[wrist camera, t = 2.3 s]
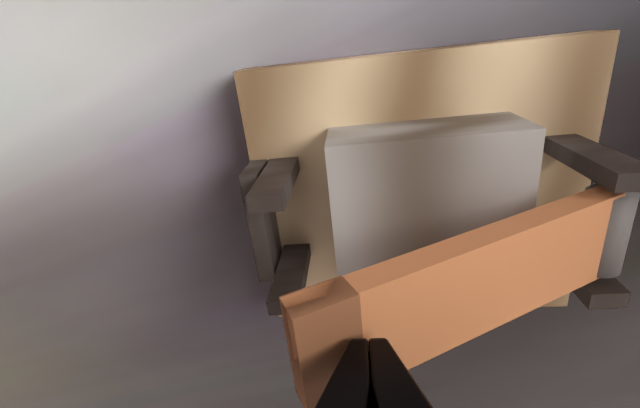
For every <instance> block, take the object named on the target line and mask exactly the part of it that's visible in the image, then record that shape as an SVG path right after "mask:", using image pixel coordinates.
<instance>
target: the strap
mask: <svg viewBox="0 0 640 408" xmlns="http://www.w3.org/2000/svg"><path fill="white" fill-rule="evenodd" d="M639 198H640V193H639V192H629V193H613V192H611V191H609V190H608V189H606V188H604V187H602V186H601V185H599V184H594V185H590V186H587V187H586V188H585V191H582V192H579V193H576V194H573V195H570V196H568V197H565V198H562V199H559V200H556V201H553V202H551V203H548V204H545V205H542V206H539V207H536V208H534V209H531V210H528V211H525V212H522V213H519V214H517V215H514V216H511V217H508V218H505V219H502V220H500V221H497V222H494V223H491V224H488V225H485V226H483V227H480V228H477V229H474V230H471V231H468V232H465V233H463V234H460V235H457V236H454V237H451V238H448V239H446V240H443V241H440V242H437V243H434V244H431V245H429V246H426V247H423V248H420V249H417V250H414V251H412V252H409V253H406V254H403V255H400V256H397V257H395V258H392V259H389V260H386V261H383V262H380V263H378V264H375V265H372V266H369V267H366V268H363V269H361V270H358V271H355V272H352V273H349V274H346V275H344V276H342V275H340V276H337V277H334V278H331V279H328V280H325V281H323V282H320V283H317V284H314V285H311V286H308V287H306V288H303V289H300V290H297V291H294V292H291V293H288V294H286V295H283V296H280V297H279V300H280V305H281V311H282V316H283V322H284V327H285V333H286V338H287V344H288V349H289V355H290V360H291V366H292V371H293V377H294V382H295V388H296V392H297V394H298V396H299V398H300V401H301V403H302V405H303V407H304V408H315V406H316V404H317V402H318V400H319V398H320V397H321V395H322V393H323V391H324V389H325V387H326V385H327V383H328V381H329V379H330V377H331V375H332V373H333V371H334V369H335V367H336V366H337V364H338V362H339V360H340V358H341V356H342V354H343V352H344V350H345V348H346V346H347V344H348V342H349V341H350V340H351V339H356V338H366V339H367V340H368V344H369V339H370V338H386V339H387V340H388V341H389V342H390V344H391V345H392V347H393V348H394V350H395V351H396V353H397V355H398V356H399V358H400V359H401V361H402V362H403V364H404V365H405V367H406V368H407V370H409V369H411V368H413V367H415V366H417V365H419V364H421V363H423V362H425V361H427V360H430V359H432V358H434V357H436V356H438V355H440V354H442V353H444V352H446V351H448V350H450V349H453V348H455V347H457V346H459V345H461V344H463V343H465V342H467V341H469V340H471V339H473V338H476V337H478V336H480V335H482V334H484V333H486V332H488V331H490V330H492V329H494V328H496V327H499V326H501V325H503V324H505V323H507V322H509V321H511V320H513V319H515V318H517V317H519V316H522V315H524V314H526V313H528V312H530V311H532V310H534V309H536V308H538V307H540V306H542V305H545V304H547V303H549V302H551V301H553V300H555V299H557V298H559V297H561V296H563V295H565V294H568V293H570V292H572V291H574V290H576V289H578V288H580V287H582V286H584V285H586V284H588V283H591V282H593V281H595V280H597V279H599V278H614V277H617V276H619V275H620V273H621V270H622V266H623V262H624V258H625V254H626V250H627V246H628V242H629V238H630V234H631V230H632V226H633V222H634V218H635V214H636V210H637V206H638V202H639ZM369 358H370V357H369Z"/></svg>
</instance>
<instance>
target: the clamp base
mask: <svg viewBox="0 0 640 408" xmlns="http://www.w3.org/2000/svg"><path fill="white" fill-rule="evenodd" d="M619 34H620V30H596V31H581V32H571V33H562V34H553V35H544V36H535V37H526V38H517V39H508V40H499V41H490V42H480V43H471V44H462V45H453V46H444V47H435V48H426V49H417V50H408V51H398V52H389V53H380V54H371V55H362V56H353V57H344V58H335V59H326V60H317V61H307V62H298V63H289V64H280V65H271V66H262V67H253V68H245V69H242V70H238V71H235V72H233V74H234V80H235V85H236V90H237V96H238V101H239V106H240V112H241V117H242V122H243V128H244V133H245V138H246V144H247V149H248V155H249V160H250V162H249V163H248V165H247V166H246V167H245V168H244V170H243V171H242V172H241V173H240V174H239V176H238V178H239V183H240V188H241V193H242V198H243V203H244V207H245V212H246V217H247V222H248V227H249V232H250V237H251V242H252V247H253V252H254V257H255V262H256V267H257V272H258V276H259V281H260V282H261V281H272V286H271V289H270V292H269V295H268V299H267V302H266V303H267V308H268V313H269V315H279V317H283V316H282V311H281V305H280V300H279V297H280V296H283V295H286V294H288V293H291V292H294V291H297V290H300V289H303V288H306V287H308V286H311V285H314V284H317V283H320V282H323V281H325V280H328V279H331V278H334V277H337V276H340V275H342V276H344V275H346V274H349V273H352V272H355V271H358V270H361V269H363V268H366V267H369V266H372V265H375V264H378V263H380V262H383V261H386V260H389V259H392V258H395V257H397V256H400V255H403V254H406V253H409V252H412V251H414V250H417V249H420V248H423V247H426V246H429V245H431V244H434V243H437V242H440V241H443V240H446V239H448V238H451V237H454V236H457V235H460V234H463V233H465V232H468V231H471V230H474V229H477V228H480V227H483V226H485V225H488V224H491V223H494V222H497V221H500V220H502V219H505V218H508V217H511V216H514V215H517V214H519V213H522V212H525V211H528V210H531V209H534V208H536V207H539V206H542V205H545V204H548V203H551V202H553V201H556V200H559V199H562V198H565V197H568V196H570V195H573V194H576V193H579V192H582V191H585V188H586V187H587V186H590V185H591V180H592V181H594V182H596V183H597V184H599V185H601V186H602V187H604V188H606V189H608V190H609V191H611V192H613V193H629V192H640V160H638V159H636V158H633V157H631V156H628V155H626V154H624V153H621V152H619V151H617V150H614V149H612V148H609V147H607V146H605V145H602V144H600V143H599V138H600V133H601V128H602V122H603V117H604V112H605V107H606V102H607V96H608V91H609V86H610V81H611V76H612V70H613V65H614V60H615V55H616V50H617V44H618V39H619ZM573 292H574V294H575V295H576V296H577V297H578V298H579V299H580V300H581V301H582V303H583V304H584V305H585V306H586V307H587V308H588V309H615V308H627V307H628V304H629V300H630V296H631V292H629V291H628V290H627V289H626V288H625V287H624V286H623V285H622V284H621V283H619V282H618V281H617V280H616V279H615V278H599V279H597V280H595V281H593V282H591V283H588V284H586V285H584V286H582V287H580V288H578V289H576V290H574V291H573ZM569 294H570V293H568V294H565V295H563V296H561V297H559V298H557V299H555V300H553V301H551V302H549V303H547V304H545V305H542V306H540V307H555V306H567V304H568V299H569Z"/></svg>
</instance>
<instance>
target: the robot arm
mask: <svg viewBox="0 0 640 408" xmlns="http://www.w3.org/2000/svg"><path fill="white" fill-rule="evenodd" d="M369 357H370V358H369ZM315 408H433V407H432V406H431V404H430V403H429V401H428V400H427V398H426V397H425V395H424V394H423V392H422V391H421V389H420V388H419V386H418V385H417V383H416V382H415V380H414V379H413V377H412V376H411V374H410V373H409V371H408V370H407V368H406V367H405V365H404V364H403V362H402V361H401V359H400V358H399V356H398V355H397V353H396V351H395V350H394V348H393V347H392V345H391V344H390V342H389V341H388V340H387V339H386V338H370V339H369V344H368V340H367V339H366V338H356V339H351V340H350V341H349V342H348V344H347V346H346V348H345V350H344V352H343V354H342V356H341V358H340V360H339V362H338V364H337V366H336V367H335V369H334V371H333V373H332V375H331V377H330V379H329V381H328V383H327V385H326V387H325V389H324V391H323V393H322V395H321V397H320V398H319V400H318V402H317V404H316V406H315Z"/></svg>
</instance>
